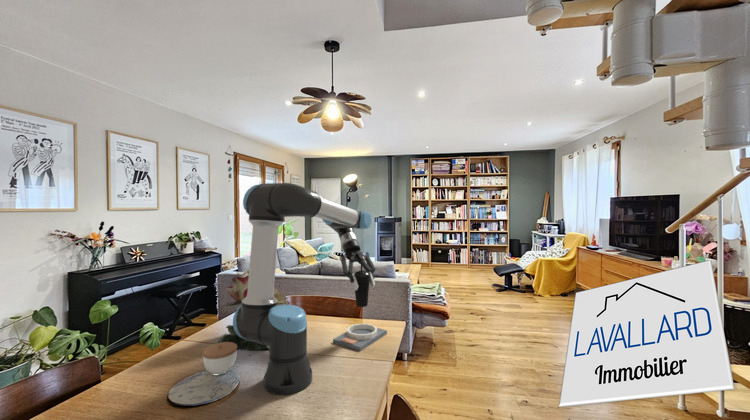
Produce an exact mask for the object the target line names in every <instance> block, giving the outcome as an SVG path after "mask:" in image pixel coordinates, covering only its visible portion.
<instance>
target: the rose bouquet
mask: <svg viewBox="0 0 750 420" xmlns="http://www.w3.org/2000/svg"><path fill="white" fill-rule="evenodd" d="M236 275H237V276H235V277H232V278H231V282H232V283H233V284H232V285H228V287H223V288H222V290H227V292H228V293H229V294H230V297H231V298H232V299H234V302H227V303H225V304H222V306H221V308H224V307H229V306H238V305H240V304H241V305H242V300H243V299H244V298H245V297H246V296H247V291H248V279H249V269H248V270H244V271H243V273H242V274H239V273H237V274H236ZM273 295H274V297H275V298H276V299H277V306H278V305H291V304H290V303H291V301H288V300H286V298H285V297H284V295H283V294H282V293H281V292H280V291H279V290H277V289H276V287H274V294H273ZM225 328H226V329H227V332H228V334H227V333H225V334H223V335H222V337H220V338H219V339H218V340H216V343H222V342H232V343H235V344H236V345H237V351H243V350H250V351H252V350H253V351H262V350H267V349H269V346H267V345H263V344H260V343H256V342H252V341H247V340H245V339H244V338H241V337H239V336H238V335H237V334H236V333H235V331H234V328H233V324H232V325H231V324H228V325H227V326H225Z"/></svg>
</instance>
